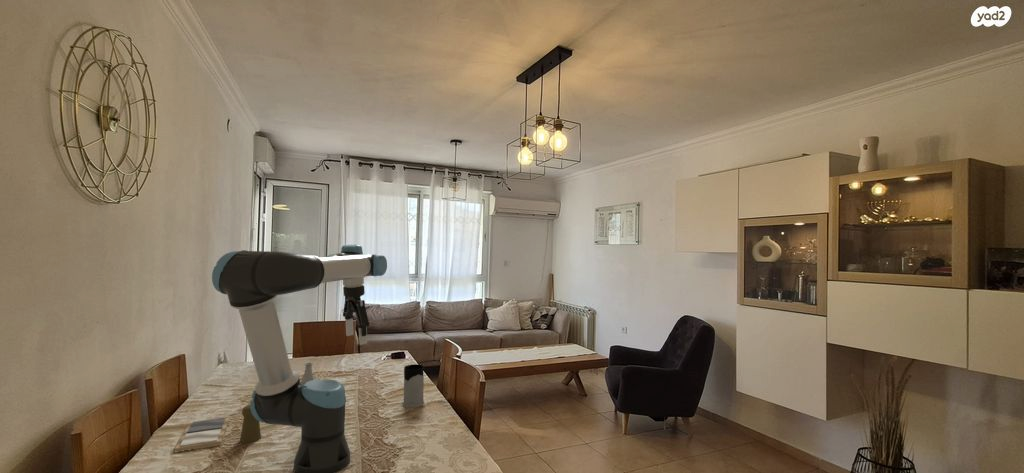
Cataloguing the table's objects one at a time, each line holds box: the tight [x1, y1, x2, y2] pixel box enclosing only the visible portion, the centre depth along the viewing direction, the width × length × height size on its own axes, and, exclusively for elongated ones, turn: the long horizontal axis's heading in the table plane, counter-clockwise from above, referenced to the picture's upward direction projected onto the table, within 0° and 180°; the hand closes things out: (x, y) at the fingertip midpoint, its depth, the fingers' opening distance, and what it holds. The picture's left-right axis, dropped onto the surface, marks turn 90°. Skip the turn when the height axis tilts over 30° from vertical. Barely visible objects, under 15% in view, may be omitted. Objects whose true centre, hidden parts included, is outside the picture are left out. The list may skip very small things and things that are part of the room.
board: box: [173, 416, 231, 453], centre depth 147 cm, size 22×12×2 cm, turn 27°
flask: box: [300, 362, 316, 384], centre depth 201 cm, size 7×7×10 cm
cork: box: [239, 404, 262, 444], centre depth 144 cm, size 6×6×11 cm
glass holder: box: [402, 364, 425, 409], centre depth 181 cm, size 9×14×15 cm, turn 36°
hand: (356, 339), depth 169 cm, fingers open, 13 cm apart
